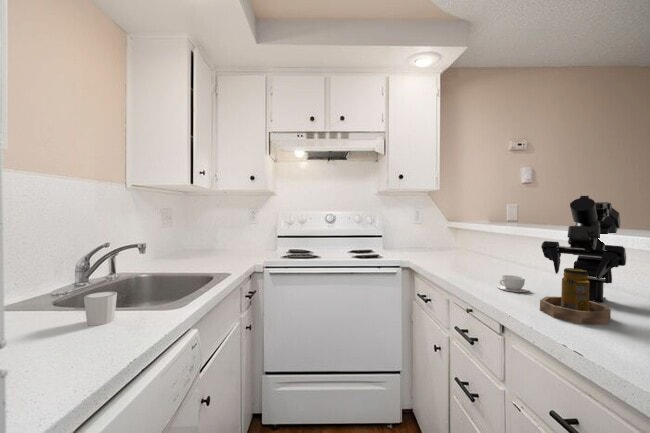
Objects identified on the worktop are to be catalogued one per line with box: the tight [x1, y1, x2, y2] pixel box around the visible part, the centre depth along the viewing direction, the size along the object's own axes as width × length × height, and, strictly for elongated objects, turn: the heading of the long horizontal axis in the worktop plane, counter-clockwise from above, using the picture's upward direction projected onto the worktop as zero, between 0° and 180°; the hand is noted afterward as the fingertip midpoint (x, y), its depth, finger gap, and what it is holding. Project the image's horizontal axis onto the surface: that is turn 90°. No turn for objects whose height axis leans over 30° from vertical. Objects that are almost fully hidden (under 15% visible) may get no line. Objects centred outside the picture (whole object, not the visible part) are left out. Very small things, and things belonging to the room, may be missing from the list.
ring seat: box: [539, 296, 612, 326], centre depth 86 cm, size 14×14×3 cm
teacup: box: [497, 274, 530, 293], centre depth 114 cm, size 10×10×5 cm
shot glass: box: [83, 291, 118, 327], centre depth 79 cm, size 7×7×7 cm
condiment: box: [558, 267, 590, 311], centre depth 86 cm, size 7×8×12 cm
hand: (576, 275), depth 87 cm, fingers open, 9 cm apart
